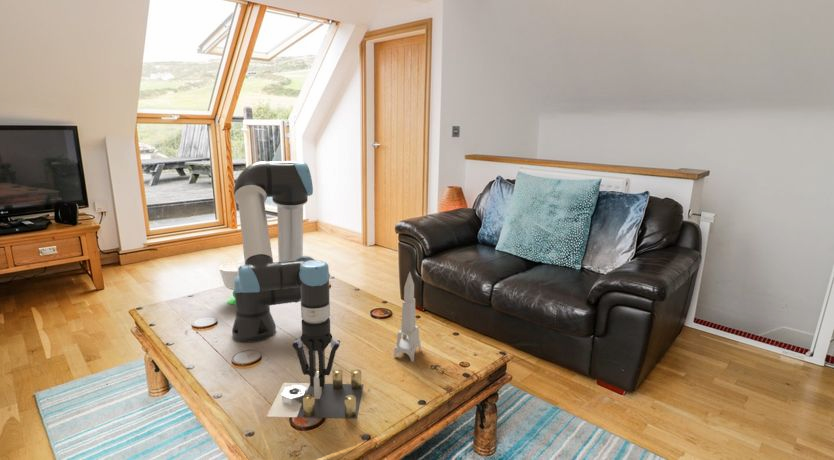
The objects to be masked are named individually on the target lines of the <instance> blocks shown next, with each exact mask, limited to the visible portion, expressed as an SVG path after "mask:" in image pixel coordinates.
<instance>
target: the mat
mask: <svg viewBox="0 0 834 460" xmlns="http://www.w3.org/2000/svg"><path fill="white" fill-rule="evenodd" d="M293 385H300V386H302V387H305V388H306V392H307V394H312V395H314V387H311V385H310V383H309V382H308V383H305V382H304V383H303V382H283V383H282V385H281V387H280V388H279V391H278V393H277V395H276V397H275V399H274V400H273V403H272V404H271V407H270V409H269V410H268V412H267V415H266V417H267V418H268V417H269V418H306V419H307V418H310V419H311V418H312V419H313V418H314V419H347V418H346V417H345V404H344V398H345V397H346V396H348V395H354V396H355V397H356V416H355V417H353V418H352V419H358V415H359V409H360V406H361V400H362V396H363V395H362V394H363V390H364V384H363V383H361V389H359V390H353V389H352V388H351V383H343V388H341V389H339V390H335V389H333V383H325V384H324V388H322V394H321V397H320V399H315V415H314V416H312V417H305V416H304V412H303V404H299V405H296V406H292V407H291V406H288V405H286V404H284V403H282V393H283V391H284V389H285V388H286V387H290V386H293Z"/></svg>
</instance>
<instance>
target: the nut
mask: <svg viewBox="0 0 834 460" xmlns="http://www.w3.org/2000/svg"><path fill="white" fill-rule="evenodd" d="M305 395H307V392H306V388H305V387H302V386H300V385H293V386H290V387H286V388H285V389H284V391H283V393H282V403H284V404H286V405H288V406H291V407H292V406H296V405H299V404H303V397H304V396H305Z"/></svg>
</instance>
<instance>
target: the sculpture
mask: <svg viewBox="0 0 834 460" xmlns="http://www.w3.org/2000/svg"><path fill="white" fill-rule="evenodd" d="M408 272H409V273H408V274H407V279H406V281H405V284H404V286H403V287H404V290H403V301H402V305H401V306H402V310H401V324H400V325H401V326H400V330H399V331H398V332H397V336H396V337H397V339H396V345H395V346H394V351H393V352H394V354H393V359H394V358H395V359H396V358H397V356H398V355H399V354H400V353H404V354H407V355H408V357H409V358H410V362H412V363H413V362H414V361H415V353H416V349H417V348H418V350H419V352H422V350H421V349H422V347H421V339H420V332H419V325H416V298H415V283H414V280H413V276H412V274H411V271H408Z"/></svg>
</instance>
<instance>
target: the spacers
mask: <svg viewBox="0 0 834 460" xmlns="http://www.w3.org/2000/svg"><path fill="white" fill-rule="evenodd" d="M331 371H332V372H331V373H332V374H331V375H332V376H331V377H332V378H331V379H332V384H333V389H335V390H339V389H341V388H343V384H344V378H343V377H344V372H343V370H342V369H341V368H335V369H333V370H331ZM315 373H319V368H316V372H315ZM350 384H351V388H352V389H353V390H359V389H361V384H362V370H360V369H358V368H357V369H352V370H351V371H350ZM322 388H324V386H323V387H322ZM344 404H345V417H346V418H345V419H353V417H355V416H356V397H355V396H354V395H348V396H346V397H345V398H344ZM303 412H304V416H305V417H312V416H314V415H315V396H314V395H312V394H307V395H305V396H304V397H303Z"/></svg>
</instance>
